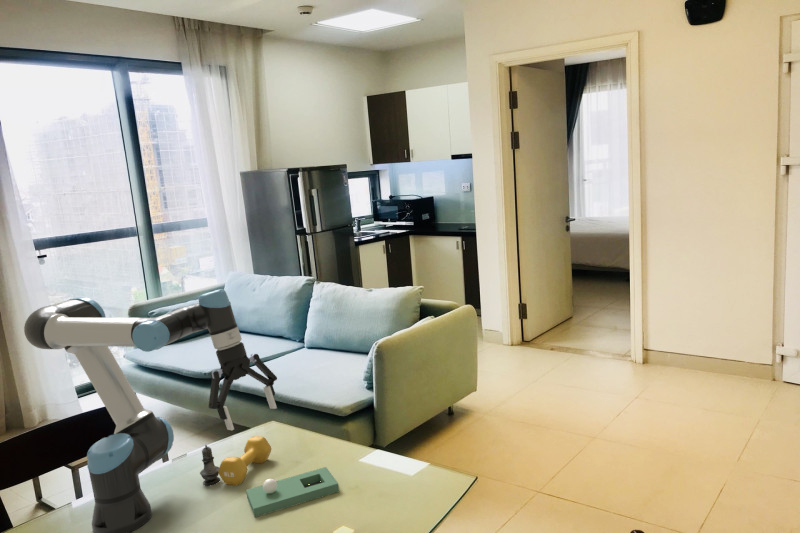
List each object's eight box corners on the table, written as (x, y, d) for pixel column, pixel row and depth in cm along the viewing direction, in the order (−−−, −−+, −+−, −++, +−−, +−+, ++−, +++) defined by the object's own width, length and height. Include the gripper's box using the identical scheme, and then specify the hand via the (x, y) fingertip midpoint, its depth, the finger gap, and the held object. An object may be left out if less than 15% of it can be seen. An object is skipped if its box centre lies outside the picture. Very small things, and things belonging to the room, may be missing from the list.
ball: (265, 497, 171) (263, 484, 170) (262, 491, 175) (260, 478, 174) (279, 493, 173) (277, 480, 172) (276, 487, 176) (274, 474, 176)
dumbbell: (243, 488, 184) (239, 462, 182) (217, 486, 187) (213, 461, 185) (275, 458, 201) (272, 435, 200) (251, 457, 204) (247, 434, 203)
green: (254, 517, 166) (253, 508, 166) (247, 497, 177) (245, 489, 177) (339, 491, 175) (338, 483, 175) (327, 474, 186) (326, 466, 186)
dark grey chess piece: (202, 488, 186) (196, 450, 184) (200, 480, 191) (194, 443, 190) (222, 482, 188) (216, 445, 186) (220, 475, 194) (214, 438, 192)
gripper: (192, 362, 157) (217, 440, 159) (274, 329, 173) (296, 400, 175) (180, 362, 162) (205, 437, 164) (261, 330, 179) (283, 399, 181)
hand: (252, 418), depth 170 cm, fingers open, 13 cm apart
